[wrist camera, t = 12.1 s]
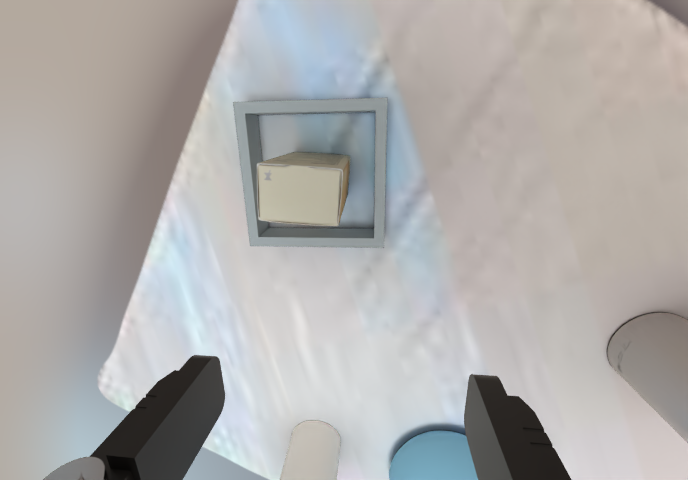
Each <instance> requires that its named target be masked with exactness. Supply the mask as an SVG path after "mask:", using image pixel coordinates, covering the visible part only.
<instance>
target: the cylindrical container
mask: <svg viewBox="0 0 688 480" xmlns="http://www.w3.org/2000/svg"><path fill="white" fill-rule="evenodd" d="M340 443H341V440H340V436H339V434H338V432H337V431H336V430H335V429H334V428H333V427H332V426H331V425H329V424H327V423H324V422H322V421H316V420H311V421H305V422H302V423H300V424H299V425H297V426H296V427H295V429H294V430H293V433H292V436H291V440H290V444H289V447H288V451H287V455H286V458H285V462H284V466H283V470H282V473H281V477H280V480H337V471H338V462H339V453H340Z"/></svg>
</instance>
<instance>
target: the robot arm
mask: <svg viewBox="0 0 688 480" xmlns="http://www.w3.org/2000/svg"><path fill="white" fill-rule="evenodd" d="M607 354H608V360H609V362H610V364H611V366H612V367H613V368H614V370H615V371H616V372H617V373H618V374H619V375H620V376H621V377H622V378H623V379H624V380H625V381H626V382H627V383H628V384H629V385H630V386H631V387H632V388H633V389H634V390H635V391H636V392H637V393H638V394H639V395H640V396H641V397H642V398H643V399H644V400H645V401H646V402H647V403H648V404H649V405H650V406H651V407H652V408H653V409H654V410H655V411H656V412H657V413H658V414H659V415H660V416H661V417H662V418H663V419H664V420H665V421H666V422H667V423H668V424H669V425H670V426H671V427H672V428H673V429H674V430H675V431H676V432H677V433H678V434H679V435H680V436H681V437H682V438H683V439H684V440H685V441H686V442H687V443H688V320H686V319H685V318H683V317H680V316H678V315H675V314H671V313H651V314H646V315H643V316H639V317H637V318H635V319H633V320H631V321H629V322H628V323H626V324H625V325H623V326H622V327H621V328H620V329H619V330H618V331H617V332H616V333H615V334H614V336H613V337H612V339H611V341H610V343H609V346H608V352H607ZM224 401H225V391H224V385H223V379H222V372H221V366H220V361H219V359H218V357H216V356H201V355H194V356H192V357H191V358H190V359H189V360H188V361H187V362H186V363H185V364H184V365H183V367H182V368H181V369H180V370H179V371H176V370H175V371H173V372H172V373H170V374H169V375H167V376H166V377H164V378H163V379H161V380H160V381H158V382H157V383H156V384H155V386H154V387H153V388H152V389H151V390H150V391H149V392H148V393H147V394H146V397H145V398H143V399H142V400H141V401H140V402H139V403H138V404H137V405H136V408H135V409H133V410H132V411H131V412H130V413H129V414H128V415H127V416H126V417H125V418H124V420H123V421H122V422H121V423H120V424H119V425H118V426H117V427H116V428H115V429H114V431H113V432H112V433H111V434H110V435H109V436H108V437H107V438H106V439H105V441H104V442H103V443H102V444H101V445H100V446H99V447H98V448H97V449H96V450H95V451H94V453H93V454H92V455H91V456H90V457H83V458H79V459H76V460H73V461H71V462H69V463H66V464H65V465H63V466H61V467H59V468H58V469H56V470H55V471H53V472H52V473H50V474H49V475H48V476H47V477H45V478H44V479H43V480H183V478H184V476H185V474H186V473H187V471H188V469H189V468H190V466H191V464H192V462H193V461H194V459H195V457H196V456H197V454H198V452H199V450H200V449H201V447H202V445H203V444H204V442H205V440H206V438H207V437H208V435H209V433H210V432H211V430H212V428H213V426H214V425H215V423H216V421H217V420H218V418H219V416H220V414H221V412H222V409H223V406H224ZM464 424H465V433H466V437H467V441H468V445H469V449H470V452H471V456H472V460H473V463H474V467H475V471H476V474H477V478H478V480H571V478H570V476H569V475H568V473H567V471H566V469H565V467H564V465H563V464H562V462H561V460H560V458H559V456H558V454H557V452H556V451H555V449H554V448H553V447H552V443H551V441H550V440H549V438H548V436H547V434H546V433H544V429H543V427H542V425H541V423H540V421H539V419H538V418H537V416H536V414H535V412H534V411H533V410H532V409H531V408H530V407H529V406H528V405H527V404H526V403H525V402H524V401H523V400H522V399H521V398H520V397H519V396H507V394H506V391H505V389H504V387H503V385H502V383H501V381H500V379H499V378H498V377H497V376H488V375H473V374H471V375H470V377H469V382H468V390H467V397H466V405H465V413H464Z"/></svg>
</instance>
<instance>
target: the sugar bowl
mask: <svg viewBox="0 0 688 480" xmlns="http://www.w3.org/2000/svg"><path fill="white" fill-rule="evenodd" d="M389 479H390V480H478V478H477V474H476V471H475V467H474V463H473V460H472V456H471V452H470V449H469V445H468V441H467V437H466V435H463V434H461V433H457V432H453V431H444V430H436V431H429V432H425V433H422V434H419V435H417V436H415V437H413V438H411V439H410V440H409V441H407V442H406V443H405V444H404V445H403V446H402V447H401V448H400V449H399V450H398V452H397V453H396V454H395V456H394V458H393V460H392V462H391V466H390V470H389Z"/></svg>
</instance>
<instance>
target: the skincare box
mask: <svg viewBox="0 0 688 480" xmlns="http://www.w3.org/2000/svg"><path fill="white" fill-rule="evenodd" d="M349 174H350V156H348V155H339V154H326V153H309V152H292V153H289V154H286V155H283V156H279V157H276V158H273V159H269V160H266V161H263V162H260V163H257V206H258V218H259V220H261V221H267V222H275V223H285V224H299V225H315V226H338V225H339V222H340V218H341V215H342V212H343V208H344V205H345V201H346V198H347V194H348V185H349Z"/></svg>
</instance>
